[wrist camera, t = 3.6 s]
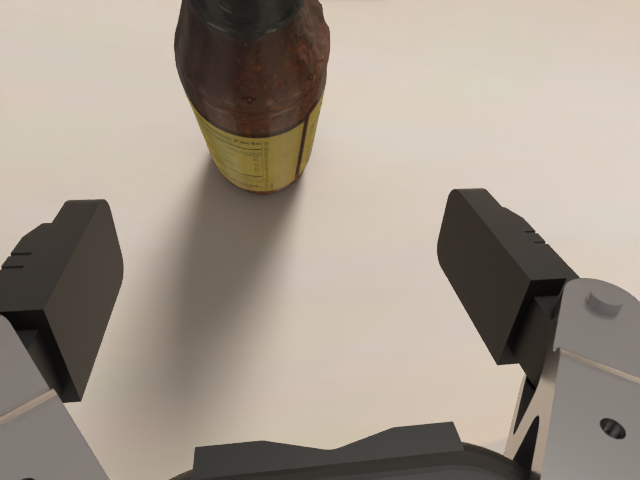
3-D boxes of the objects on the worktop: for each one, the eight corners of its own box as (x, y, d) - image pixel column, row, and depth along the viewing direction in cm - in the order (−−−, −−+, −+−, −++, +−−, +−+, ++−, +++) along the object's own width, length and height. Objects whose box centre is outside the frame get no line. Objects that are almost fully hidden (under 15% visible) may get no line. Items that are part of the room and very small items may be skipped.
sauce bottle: (264, 91, 30) (263, -320, 11) (328, 158, 30) (443, -145, 11) (188, 152, 29) (34, -196, 10) (254, 222, 29) (232, 10, 9)
